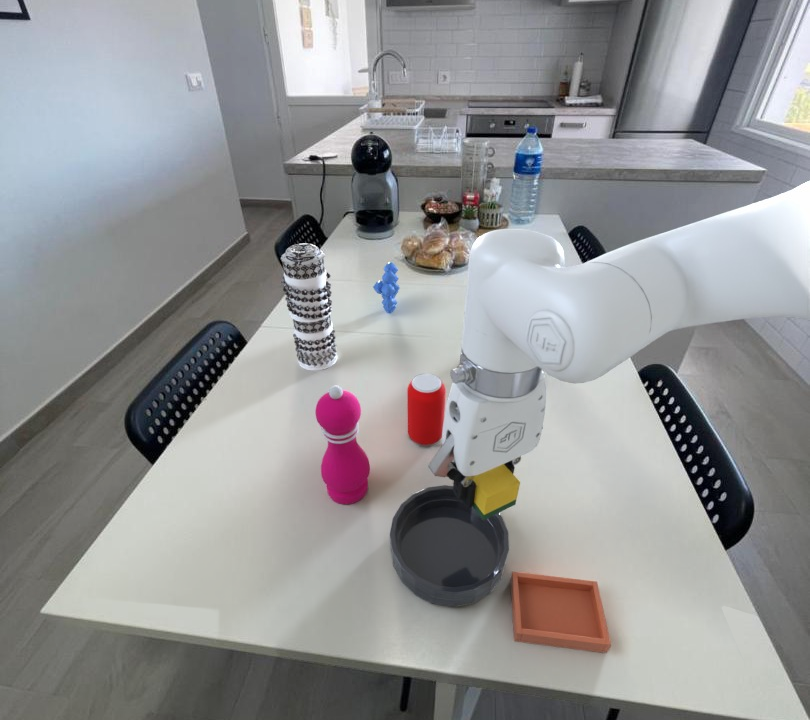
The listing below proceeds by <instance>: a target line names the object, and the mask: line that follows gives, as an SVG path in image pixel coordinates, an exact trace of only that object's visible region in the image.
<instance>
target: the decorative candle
mask: <svg viewBox="0 0 810 720" xmlns="http://www.w3.org/2000/svg"><path fill="white" fill-rule="evenodd" d="M325 257H326V253H325V252H324V251H323V250H322V249H320V248H319V247H318V246H316V245H315V244H313V243H304V242H303V243H297V244H293V245H290V246H289V247H288V248H286V249H285V252H284V253H283V254H282V255H281V257H280V260H281V262H282V268H283V271H284V272H283V275H282V277H281V279H282V280H281V282H280V283H281V285H283V288H282V290H283V292H284V295H285V298H284V299H285V301H286V307H287V310H288V311H289V316H290V318H291V319H292V321H293V328H292V329H293V334H292V337H293V339H294V341H293V342H294V344H295V348H294V349H295V352H296V358H297V363H298V365H299V366H300V367H301V368H302V369H304V370H308V371H313V372H314V371H315V372H316V371H323V370H326V369H329V368H331V367H332V366H334V365H335V364H336V362H337V361H338V354H337V352H338V350H337V343H336V340H335V339H336V336H335V333H336V330H335V328H334V327H333V321H332V319H331V313H332V311H333V307H332V304H333V300H332V299H331V298H330V297H331V296H332V290H331V286H332V284H331V283H330V282H329V281H328V279H331V274H330V273H329V272H328V271H327V268H326V267H325V260H324V258H325ZM326 279H327V280H326Z"/></svg>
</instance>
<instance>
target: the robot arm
mask: <svg viewBox="0 0 810 720" xmlns="http://www.w3.org/2000/svg"><path fill="white" fill-rule="evenodd" d="M565 257H566V256H565V252H564V249H563V247H562V246H561V244H560V242H558V241H557V240H556V239H555V238H554V237H552V236H550V235H548V234H545V233H543V232H540V231H537V230H532V229H526V228H512V227H511V228H500V229H495V230H490V231H488V232H486V233H483V234H482V235H480V236H479V237H478V238H477V239H476V240H475V241H474V242H473V244H472V246H471V247H470V251H469V256H468V265H467V276H466V277H467V279H466V289H465V290H466V291H465V302H464V313H463V315H464V316H463V325H462V337H461V347H460V357H459V365H458V366H457V367H456V368H454V369H450V372H449V376H450V379H451V382H452V383H451V387H450V390H449V394H448V398H447V401H446V404H445V410H444V422H443V431H442V437H441V446H440V448H439V449H438V451H437V453H436V454H435V455H434V456H433V458H432V459H431V460H430V462H429V463H428V469H429V470H430V472H431V473H432V474H433V476H434V477H439V478H448V479H449V480H451V481H452V482H453V483H452V486H453V492H454V494H455V496H456V497H457V499H458V500H462V501H463V502H464V504H465V505H466V506H467V508H470V507H472V506H473V504H474V496H475V489H476V483H475V482H474V481H473V478H474V476H475V475H479V474H481V473H484V472H486V471H489V470H491V469H493V468H495V467H498V466H500V465H502V464H504V465H505V466H506V467H507V468H508V469H509V470H510V471H511V472H512V473H513V474H514V473H515V469H516V467H515V466H516V465H517V464H519V463H520V462H521V460H522V456H524V455H526V454H528V453H530V452H532V451H533V450H534V449H535V448H536V447H537V446H538V445H539V442H540V439H541V437H542V436H541V435H542V432H543V428H544V420H545V414H546V403H547V383H546V374H548V376H550V377H552V378H555V379H556V380H559V381H561V382H563V383H567V384H585V383H588V382H592V381H595V380H598V379H599V378H601V377H603V376H604V375H606V374H607V373H609V372H610V371H612V370H613V369H615V368H617V367H618V366H619V365H621V364H622V363H624V362H625V361H626V360H628V359H630V358H632V357H633V356H634V355H635V354H637V353H638V352H640V351H641V350H642V349H644V348H646V347H647V346H649V345H650V344H651V343H653V342H655V341H656V340H657V339H660V338H661V337H662V336H664V335H665V334H667V333H668V332H672V331H675V330H680V329H683V328H684V329H685V328H690V327H691V328H692V327H697V326H703V325H709V324H715V323H716V324H717V323H725V322H732V321H739V320H747V319H759V318H761V319H762V318H786V319H787V318H788V319H797V320H803V321H808V322H810V180H809V181H806V182H805V183H802V184H800V185H799V186H796V187H794V188H793V189H791V190H787V191H785V192H783V193H780V194H777V195H775V196H772V197H768V198H765V199H763V200H759V201H757V202H753V203H750V204H748V205H744V206H741V207H738V208H734V209H732V210H728V211H725V212H722V213H719V214H716V215H713V216H710V217H707V218H704V219H701V220H698V221H695V222H691V223H689V224H686V225H683V226H679V227H677V228H673V229H671V230H668V231H665V232H662V233H658V234H655V235H652V236H649V237H645V238H643V239H640V240H637V241H634V242H631V243H629V244H626V245H624V246H621V247H617V248H616V249H613V250H611V251H608V252H606V253H603V254H601V255H599V256H597V257H595V258H592V259H590V260H587V261H586V262H583V263H581V264H573V265H568V266H565V261H566V260H565ZM453 480H454V481H453Z"/></svg>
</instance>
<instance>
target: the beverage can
mask: <svg viewBox="0 0 810 720" xmlns="http://www.w3.org/2000/svg"><path fill="white" fill-rule="evenodd" d="M406 391H407V392H406V395H407V396H406V397H407V399H406V400H407V408H406V409H407V411H406V412H407V434H408V435H407V436H408V437H409V439H410V440H411V442H413V443H414V444H416V445H419V446H423V447H429V446H433V445H436V444H437V443H438V442H440V441H441V440H442V431H443V422H444V416H445V410H446V393H447V392H446V387H445V384H444V382H443V381H442V380H441V378H440V377H439V376H437V375H435V374H432V373H421V374H420V373H419V374H417V375H415V376H414V377H413V378H412V379H411V380H410V382H409V383H408V386H407V389H406Z"/></svg>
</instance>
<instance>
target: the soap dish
mask: <svg viewBox="0 0 810 720" xmlns="http://www.w3.org/2000/svg"><path fill="white" fill-rule="evenodd" d="M509 583H510V596H511V597H510V598H511V600H510V601H511V615H512V627H513V628H512V631H513V641H514V642H519V643H527V644H534V645H541V646H542V645H543V646H550V647H557V648H564V649H572V650H579V651H587V652H593V653H603V654H607V653H608V651H610V648H611V647H612V642H611V639H610V634H609V633H610V632H609V629H608V624H607V620H606V616H605V611H604V608H603V602H602V599H601V593H600V589H599V585H598V581H596V580H589V579H580V578H571V577H562V576H553V575H552V576H551V575H546V574H536V573H528V572H519V571H511V575H510V580H509Z"/></svg>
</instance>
